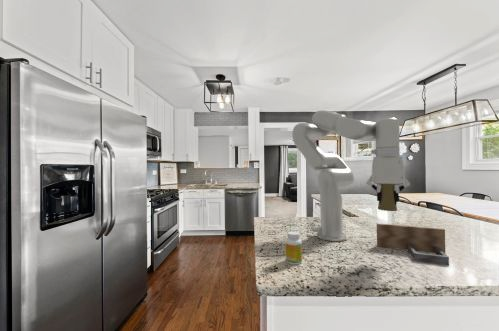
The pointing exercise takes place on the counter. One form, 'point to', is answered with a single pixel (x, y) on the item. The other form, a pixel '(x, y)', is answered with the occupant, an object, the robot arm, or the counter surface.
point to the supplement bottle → (293, 248)
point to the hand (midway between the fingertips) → (387, 203)
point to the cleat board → (414, 241)
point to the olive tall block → (387, 198)
